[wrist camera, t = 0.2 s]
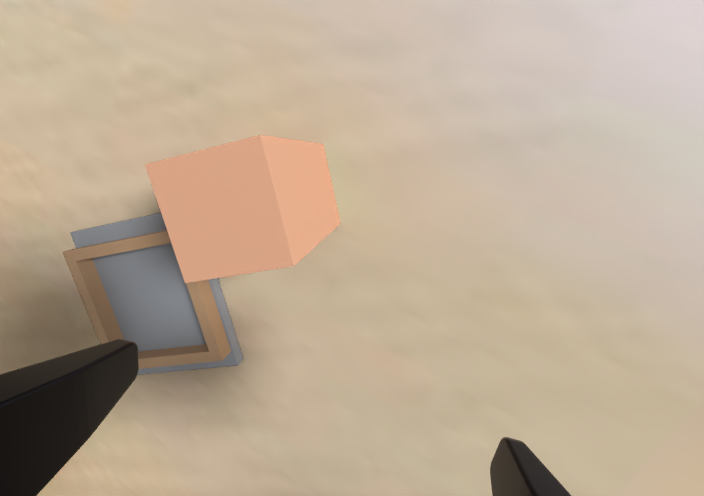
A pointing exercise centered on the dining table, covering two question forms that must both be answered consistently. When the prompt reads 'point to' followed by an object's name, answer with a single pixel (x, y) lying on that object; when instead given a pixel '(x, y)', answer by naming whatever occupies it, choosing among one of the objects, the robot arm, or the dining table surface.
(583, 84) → the dining table surface
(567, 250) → the dining table surface
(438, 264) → the dining table surface
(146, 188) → the dining table surface
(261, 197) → the pillar block
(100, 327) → the base board
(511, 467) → the robot arm
